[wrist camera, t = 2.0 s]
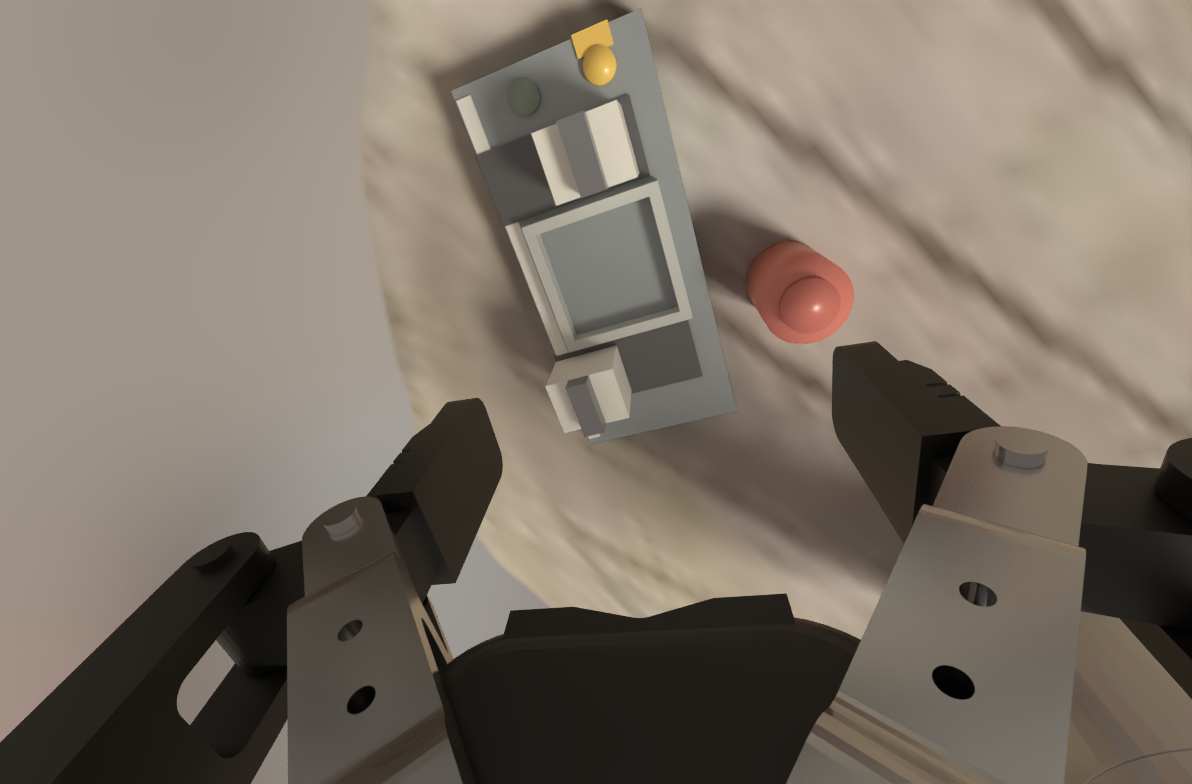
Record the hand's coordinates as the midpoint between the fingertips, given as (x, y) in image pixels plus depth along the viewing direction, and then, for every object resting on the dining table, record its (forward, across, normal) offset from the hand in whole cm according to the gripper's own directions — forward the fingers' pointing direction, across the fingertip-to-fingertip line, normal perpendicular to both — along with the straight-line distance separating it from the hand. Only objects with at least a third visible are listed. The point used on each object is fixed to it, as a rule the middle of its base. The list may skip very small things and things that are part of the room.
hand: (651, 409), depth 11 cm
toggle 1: (+18, +2, -5) cm, 19 cm away
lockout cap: (+20, -8, +4) cm, 22 cm away
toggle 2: (+18, +5, +7) cm, 20 cm away
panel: (+20, +2, +1) cm, 20 cm away
